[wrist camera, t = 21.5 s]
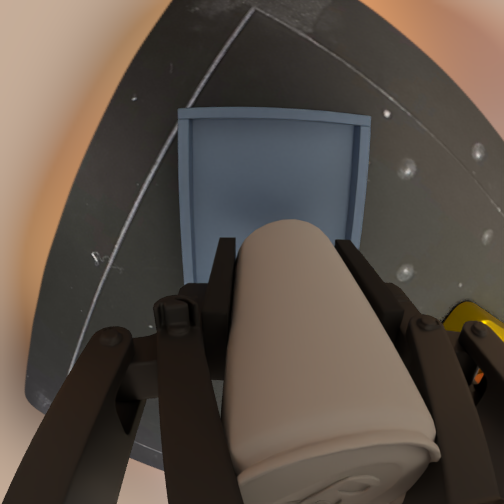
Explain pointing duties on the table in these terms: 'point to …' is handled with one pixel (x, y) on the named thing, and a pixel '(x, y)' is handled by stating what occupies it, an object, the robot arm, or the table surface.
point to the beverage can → (315, 381)
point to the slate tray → (267, 175)
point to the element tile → (472, 319)
